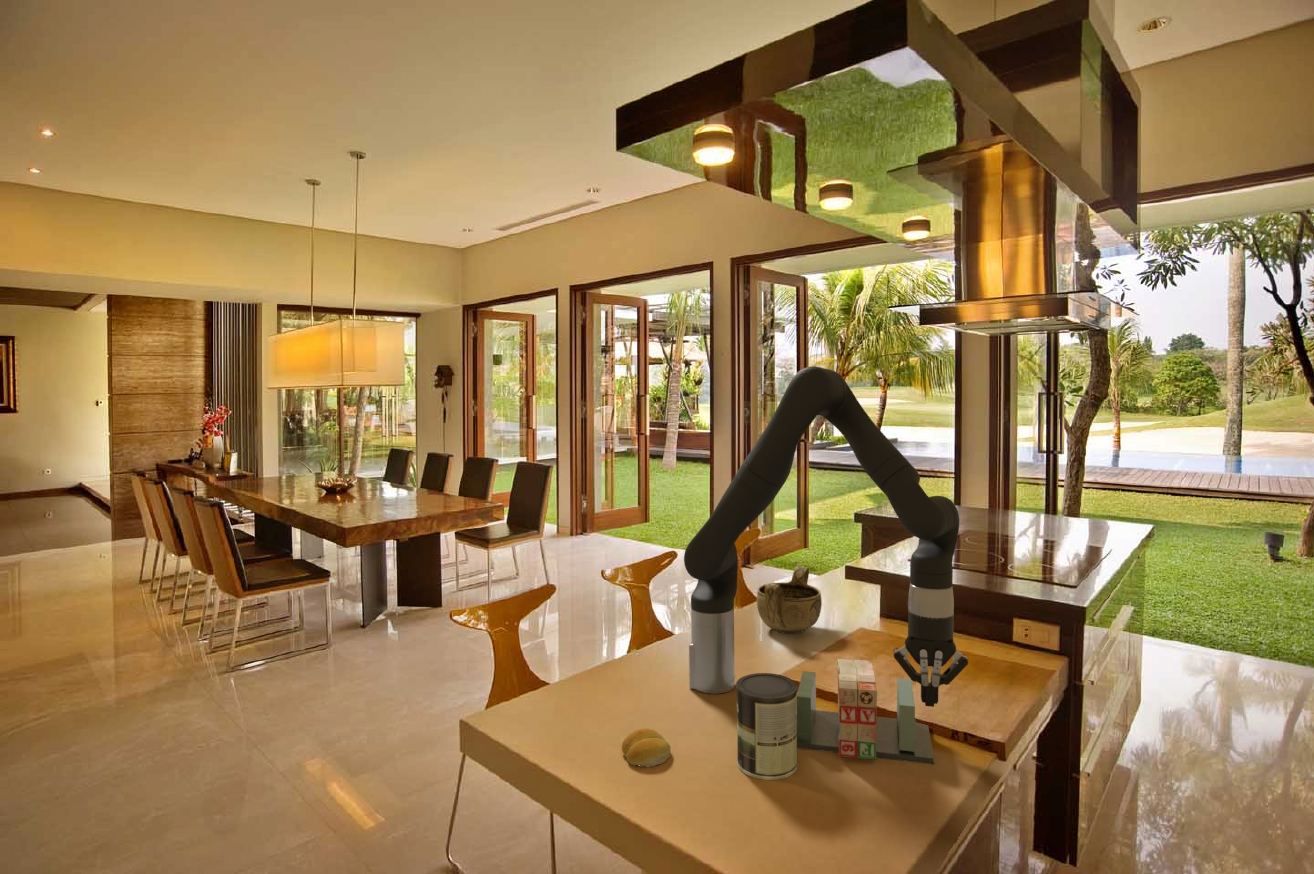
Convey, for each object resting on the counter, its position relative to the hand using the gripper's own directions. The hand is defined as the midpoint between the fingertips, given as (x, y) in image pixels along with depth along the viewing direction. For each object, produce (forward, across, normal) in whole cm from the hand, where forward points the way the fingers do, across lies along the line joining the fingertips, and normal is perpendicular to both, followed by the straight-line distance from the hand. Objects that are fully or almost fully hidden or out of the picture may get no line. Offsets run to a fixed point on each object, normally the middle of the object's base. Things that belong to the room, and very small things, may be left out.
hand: (929, 704), depth 129 cm
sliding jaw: (+6, -4, 0) cm, 7 cm away
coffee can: (+8, -27, -14) cm, 32 cm away
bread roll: (+8, -48, -16) cm, 51 cm away
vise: (+7, -12, 0) cm, 14 cm away
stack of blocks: (+7, -13, 0) cm, 14 cm away
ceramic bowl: (+8, -31, +56) cm, 64 cm away
